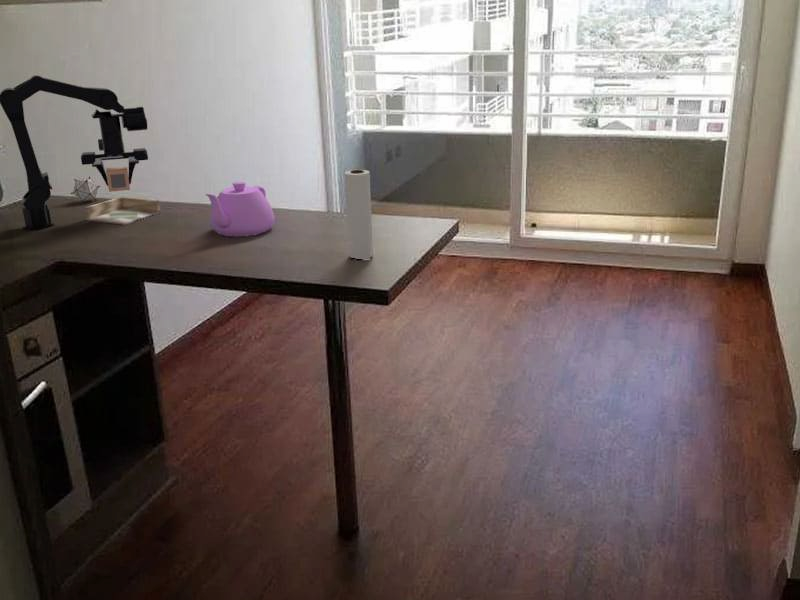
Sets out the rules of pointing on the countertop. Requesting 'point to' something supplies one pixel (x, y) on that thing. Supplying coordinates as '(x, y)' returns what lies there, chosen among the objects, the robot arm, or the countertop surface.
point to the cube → (117, 179)
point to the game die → (85, 189)
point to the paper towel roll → (359, 213)
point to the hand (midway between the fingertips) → (119, 184)
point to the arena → (122, 210)
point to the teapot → (241, 211)
